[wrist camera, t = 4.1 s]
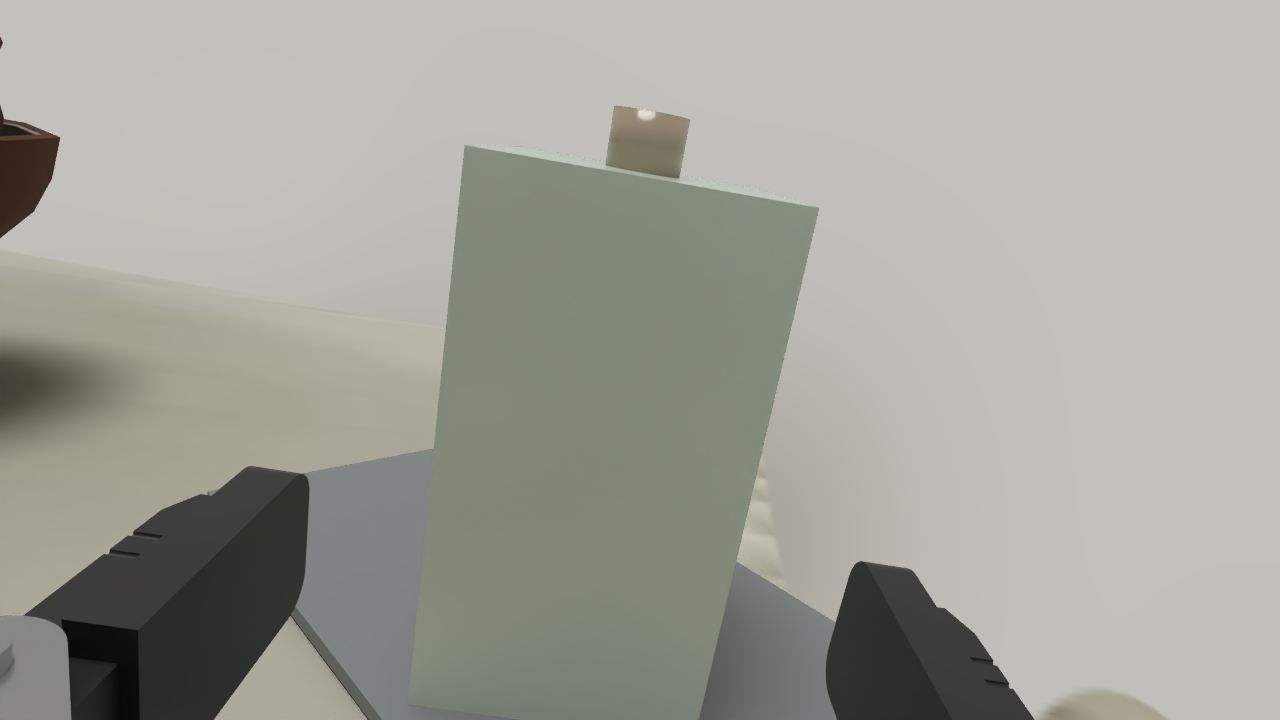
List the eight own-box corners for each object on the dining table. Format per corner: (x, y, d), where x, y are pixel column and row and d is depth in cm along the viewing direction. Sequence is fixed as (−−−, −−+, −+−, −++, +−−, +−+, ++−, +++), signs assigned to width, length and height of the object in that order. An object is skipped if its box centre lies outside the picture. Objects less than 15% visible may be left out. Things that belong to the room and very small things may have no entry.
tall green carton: (407, 704, 16) (472, 70, 12) (470, 551, 22) (525, 96, 18) (693, 743, 16) (836, 137, 12) (677, 581, 22) (770, 141, 18)
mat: (207, 503, 22) (207, 491, 22) (524, 440, 31) (525, 431, 31) (603, 1034, 11) (608, 1016, 11) (932, 697, 19) (937, 685, 19)
